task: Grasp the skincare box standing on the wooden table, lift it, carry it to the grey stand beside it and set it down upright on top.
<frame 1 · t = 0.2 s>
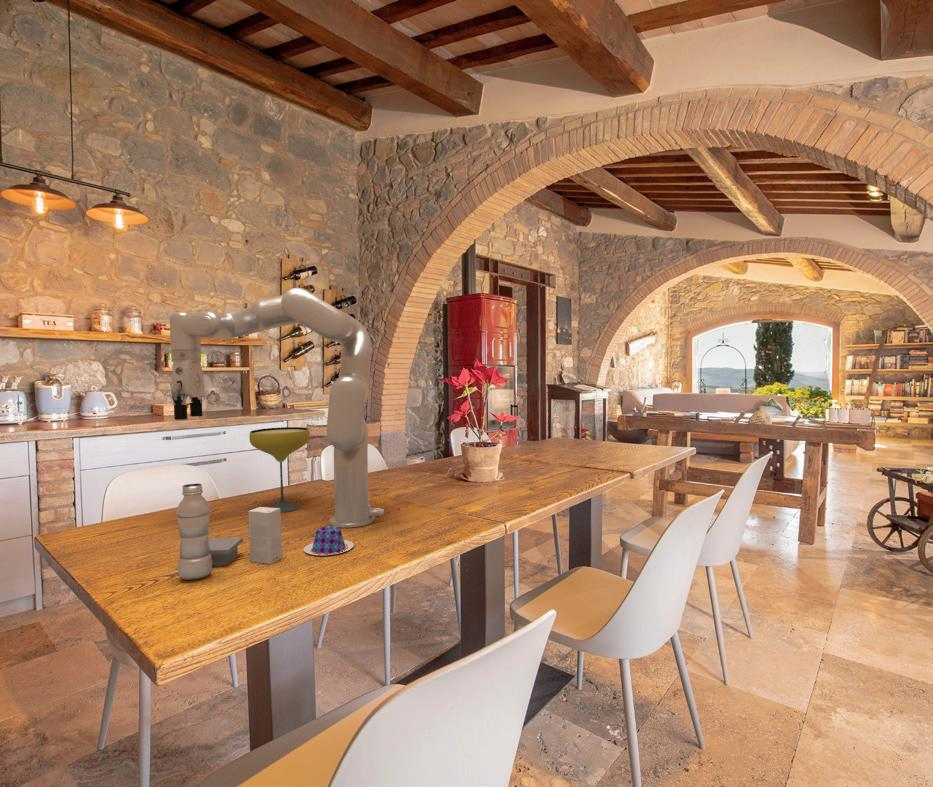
hand: (189, 417, 154), 31 cm above the table, tool pointing down, fingers open, 9 cm apart
skincare box: (266, 561, 128), on the table
plastic bottle: (196, 578, 118), on the table
pudding: (329, 550, 135), on the table
cocktail glass: (282, 508, 175), on the table
stand: (214, 561, 128), on the table
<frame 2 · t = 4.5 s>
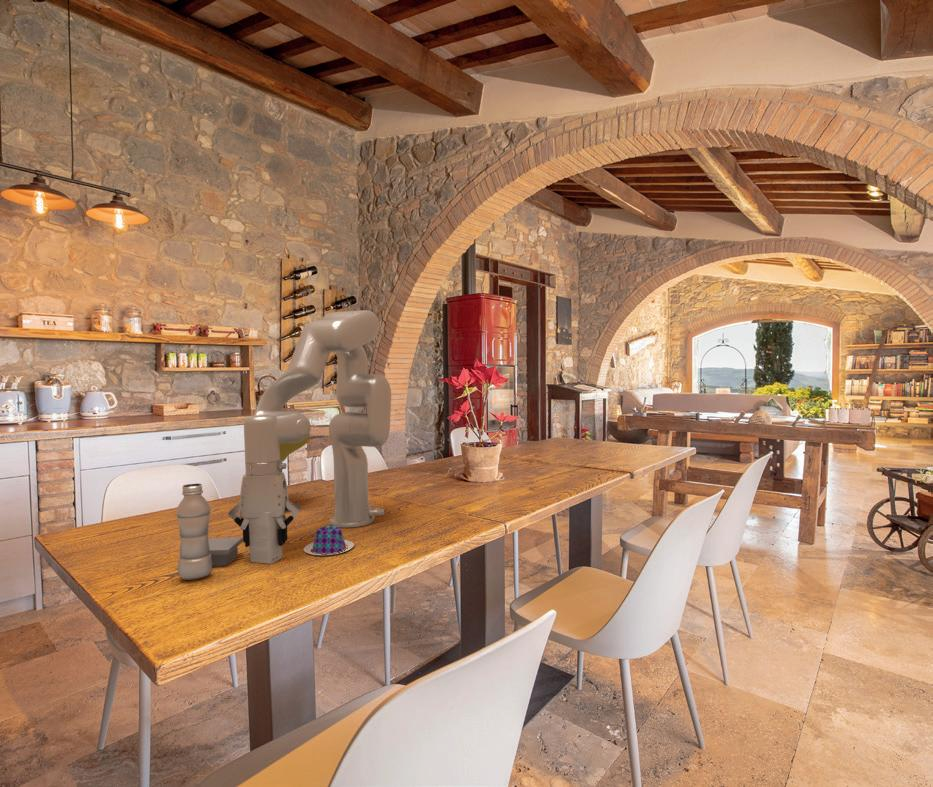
hand: (265, 544, 128), 4 cm above the table, tool pointing down, fingers closed on skincare box, 7 cm apart
skincare box: (266, 561, 128), on the table, touching gripper
everything else where it was.
when the fingers open (9 cm above the table, at t = 10.2 s): skincare box stays where it is, resting on stand.
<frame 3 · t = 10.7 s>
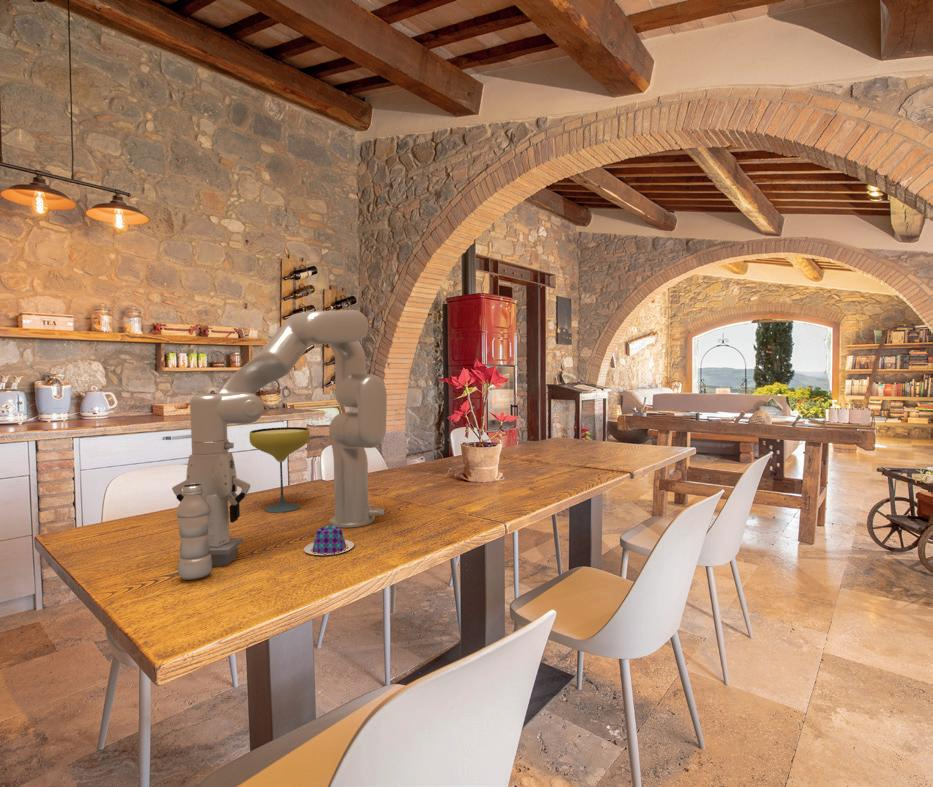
hand: (212, 521, 127), 9 cm above the table, tool pointing down, fingers open, 9 cm apart
skincare box: (213, 544, 128), point 4 cm above the table, touching stand
everything else where it was.
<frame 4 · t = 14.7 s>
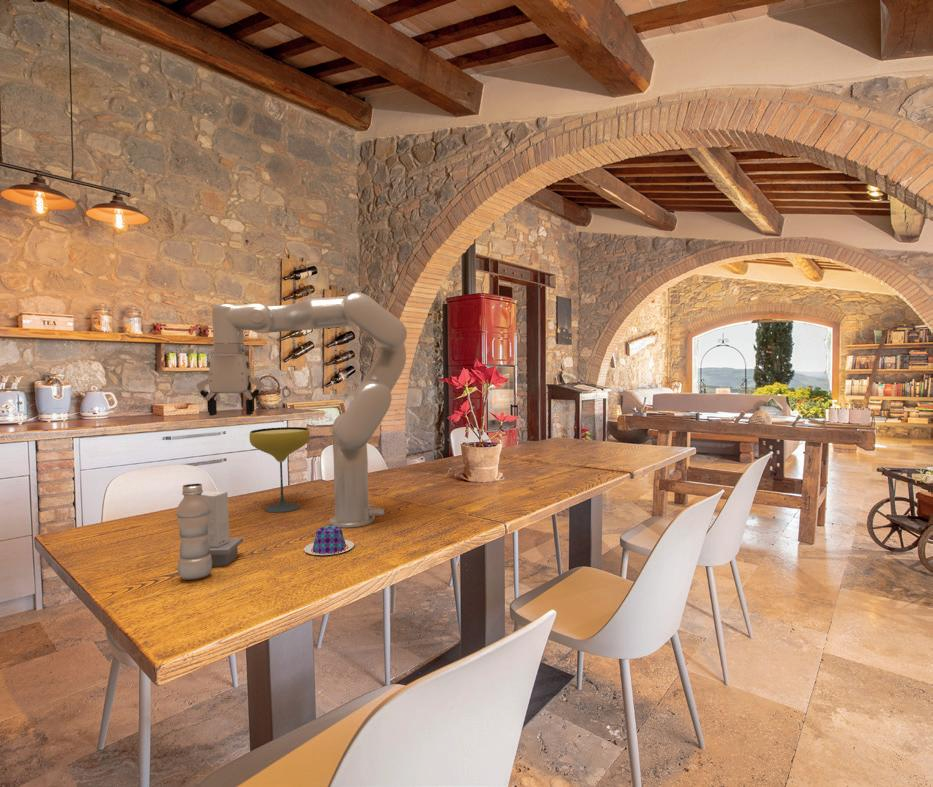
hand: (231, 414, 147), 32 cm above the table, tool pointing down, fingers open, 9 cm apart
at the end: skincare box inside the target area on the stand (0.2 cm from its centre), point 3.8 cm above the stand's base; skincare box tilted 0°; the gripper is holding nothing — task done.
